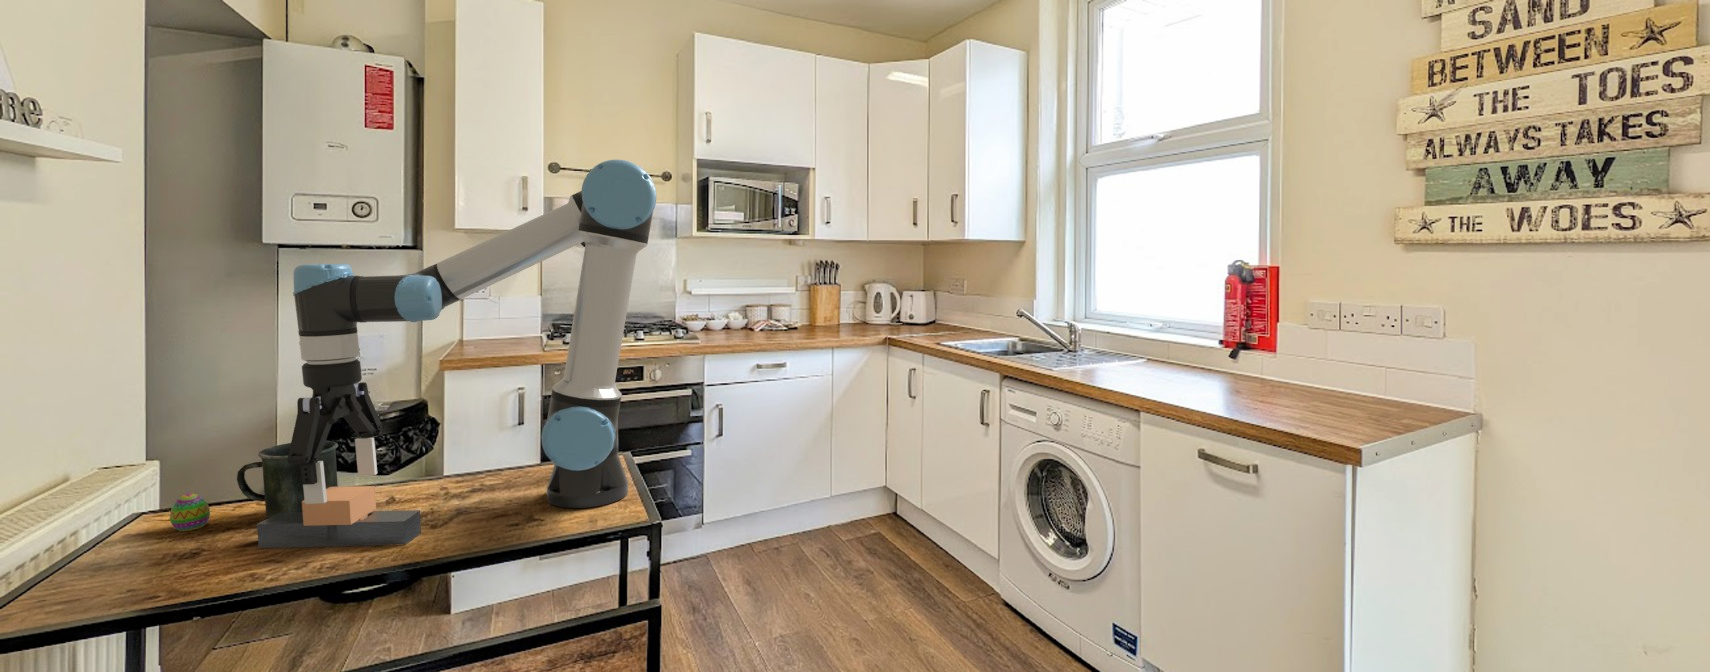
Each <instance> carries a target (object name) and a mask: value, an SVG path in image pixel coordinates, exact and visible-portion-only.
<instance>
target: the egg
mask: <svg viewBox="0 0 1710 672" xmlns="http://www.w3.org/2000/svg"><path fill="white" fill-rule="evenodd" d="M210 517H211V510H210V506H209V503H208V501H206V499H204V497H202V496H201V495H199V494H196V493H185V494H183V495H181V496H180V497H179V498H178V499H176V501H175V502H174V503H173V505H172V507H171V510H170V515H169V519H170V523H171V526H172V528H174V529H175V530H176V531H179V532H191V531H196V530H198V529H202V528H203V527H205V525H206V524H207V523H208V522H209V520H210ZM195 529H196V530H195Z"/></svg>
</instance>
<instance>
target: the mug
mask: <svg viewBox="0 0 1710 672" xmlns="http://www.w3.org/2000/svg"><path fill="white" fill-rule="evenodd" d="M290 445H291V442H287V443H282V444H278V445H273V446H270V447H266V448H264V449H262V450H260V451H259V452H258V457H259V458H260V459H261V461H255V462H252V463H248V464H244V465H243V466H241V468H240V469H239V470H238V471H237V474H236V482H237V485H238V488H239V489H240V491H241V493H242V494H243V495H244V496H245V497H246V498H248V499H250V500H252V501H258V502H264V507H265V516H266V517H267V519H268V518H270V517H272V516H274V515H276V514H278V513H288V512H303V509H302V501H304V500H305V499H304V489H303V483H302V477H301V476H302V475H301V467H300V464H292V463H288V454H289V450H290ZM338 447H339V444H338V442H335V441H331V440H326V441H325V444H324V447H323V449H322V452H321V455H320V457H319V460H318V461H323V465H324V475H325V485H326V489H327V488H329V487H339V486H338V484H339V483H338V470H337V469H338V468H337V453H336V449H337V448H338ZM297 455H298V454H297ZM311 455H312V454H311ZM256 468H257V469H259V468H262V476H263V477H262V480H263V492H264V493H263V494H262V493H257V492H255V491H254V490H253V489H252V488H251V487H250V486H249V484H248V482H247V480H246V477H245V472H246V471H247V470H251V469H256Z"/></svg>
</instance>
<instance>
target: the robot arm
mask: <svg viewBox="0 0 1710 672" xmlns="http://www.w3.org/2000/svg"><path fill="white" fill-rule="evenodd" d="M654 183H655V182H654V181H653V179H652V177H651V176H650V175H649V173H648V172H647V171H645V170H644V169H643V168H642V167H641V166H639V165H638V164H636V163H634V162H632V161H629V160H625V159H609V160H605V161H602V162H600V163H598V164H597V165H595V166H594V167H593V168H591V170H590V171H589V172H588V173H587V174H586V176H585V178H584V179H583V181H582V186H581V190H580V191H578V192H576V193H574V194H572V195H570V196H569V198H568V201H567V203H566V204H564V205H561V206H559V207H557V208H554V209H552V210H551V211H548V212H545V213H543V214H542V215H540V216H537V217H535V218H532V219H531V220H528V221H526V222H524V223H521V224H520V225H517V226H516V227H513V228H511V229H509V230H507V231H504V232H502V233H500V234H498V235H495V236H493V237H491V238H489V239H487V240H485V241H483V242H480V243H478V244H476V245H474V246H472V247H470V248H467V249H466V250H463V251H460V252H459V253H457V254H454V255H452V256H450V257H447V258H445V259H443V260H441V261H439V262H436V263H435V264H433V265H430V266H427V267H425V268H423V269H421V270H419V271H417V272H414V273H411V274H401V275H400V274H399V275H398V274H397V275H376V276H375V275H371V276H370V275H369V276H364V275H361V276H360V275H354V272H353V269H352V267H351V266H350V265H349V264H347V263H322V264H321V263H319V264H318V263H313V264H311V263H310V264H309V263H308V264H306V263H305V264H299V265H298V266H297V265H296V267H295V268H294V270H293V292H292V295H293V297H294V306H295V312H296V321H297V329H298V331H297V332H298V337H299V342H298V344H299V347H300V360H302V361H303V362H305V363H303V364H302V365H301V373H302V384H303V385H304V387H306V388H311V390H312V394H311V395H312V397H299V398H298V399H297V400H296V401H297V402H296V403H297V414H296V419H295V423H294V428H293V433H292V437H291V441H290V443H291V445H290V450H289V454H288V463H292V464H300V467H301V475H302V476H301V477H302V483H303V489H304V499H305V504H317V503H325V502H327V495H326V485H325V475H324V465H323V461H318V460H319V457H320V455H321V452H322V449H323V447H324V444H325V441H327V439H328V435H329V434H330V432H331V428H332V426H333V425H334V424H335V423H337V421H338V419H341V418H343V419H344V420H345V421H346V423H347V424H348V425H349V426H350V427H351V429H352V430H353V431H354V433H355V434H357V437H356V438H354V444H355V455H356V456H355V457H356V465H357V466H356V467H357V468H356V469H357V476H359V477H361V476H363V477H364V476H376V475H377V474H378V467H377V465H378V464H377V455H376V443H375V437H380V436H381V435H382V428H383V424H382V422H381V419H380V417H379V415H378V412H377V410H376V408H375V406H374V404H373V401H372V398H371V396H370V394H369V389H368V384H367V382H361V381H362V379H363V377H362V376H363V375H362V366H361V365H362V364H361V361H360V359H358V357H359V356H360V355H361V353H360V343H359V335H358V327H357V325H358V323H380V322H381V323H383V322H384V323H386V322H387V323H388V322H389V323H392V322H393V323H395V322H396V323H397V322H399V323H401V322H411V323H417V322H423V321H433V320H436V319H437V318H439V316H440V313H441V312H442V310H444V309H445V308H446V307H448V306H450V305H453V304H455V303H457V302H458V301H460V300H463V299H464V298H466V297H469V296H472V295H474V294H476V293H478V292H479V291H481V290H484V289H486V288H489V287H491V286H492V285H495V284H497V283H498V282H502V281H503V280H506V279H507V278H510V277H511V276H513V275H515V274H517V273H520V272H523V271H524V270H526V269H528V268H531V267H533V266H535V265H538V264H539V263H542V262H544V261H545V260H547V259H550V258H552V257H554V256H556V255H559V254H561V253H563V252H565V251H567V250H569V249H571V248H573V247H575V246H578V245H581V244H582V243H583V242H584V244H585V246H584V252H583V256H582V257H583V258H582V262H581V263H582V265H581V269H580V270H581V271H580V275H579V283H578V288H577V294H576V300H575V301H576V302H575V305H574V306H575V307H574V312H573V313H574V314H573V318H572V319H573V320H572V325H571V331H570V337H569V342H568V348H567V356H566V361H565V367H564V374H563V377H562V378H561V380H559V381H558V382H556V383H555V384H553V385H552V388H551V395H550V400H549V406H548V412H547V413H548V414H547V418H546V422H545V423H544V426H543V427H542V429H541V445H542V448H543V451H544V454H545V455H546V457H547V458H548V459H549V460H550V461H551V462H552V463H553V464H554V465H553V468H552V471H551V474H550V477H549V481H548V484H547V487H546V499H547V500H546V501H547V502H548V503H549V504H550V505H553V506H556V507H560V508H567V509H588V508H593V507H600V506H605V505H608V504H612V503H615V502H617V501H618V502H619V501H620V500H622V499H623V498H625V497H626V496H627V495H628V492H629V480H628V477H627V475H626V472H625V470H624V467H623V463H622V461H621V459H620V456H619V414H620V413H619V412H620V407H621V402H622V401H621V400H622V395H623V393H622V392H621V391H620V389H619V388H618V386H617V384H616V379H617V378H616V377H617V373H618V371H617V370H618V366H619V362H620V361H619V360H620V355H621V348H622V343H623V336H624V330H625V325H626V318H627V313H628V307H629V302H630V296H631V290H632V285H633V284H632V283H633V277H634V273H635V272H634V271H635V265H636V261H637V254H639V252H640V251H642V250H644V248H646V247H647V246H648V244H649V243H648V242H649V237H650V231H651V227H652V226H651V225H652V219H653V214H654V210H655V207H656V203H657V190H656V189H657V188H656V186H655V184H654ZM297 454H298V455H297ZM311 454H312V455H311Z"/></svg>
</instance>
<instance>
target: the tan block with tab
mask: <svg viewBox="0 0 1710 672" xmlns="http://www.w3.org/2000/svg"><path fill="white" fill-rule="evenodd" d="M326 495H327V502H325V503H317V504H305V500H304V501H302V509H303V524H304V526H309V525H351V524H353V523H354V522H356V521H358V520H364V519H365V518H367V517H368V514H369V513H370V512H372V511H376V510H377V499H376V486H374V485H368V486H367V485H365V486H364V485H363V486H362V485H361V486H360V485H359V486H357V485H355V486H354V485H353V486H338V487H329V488H327V489H326Z"/></svg>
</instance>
